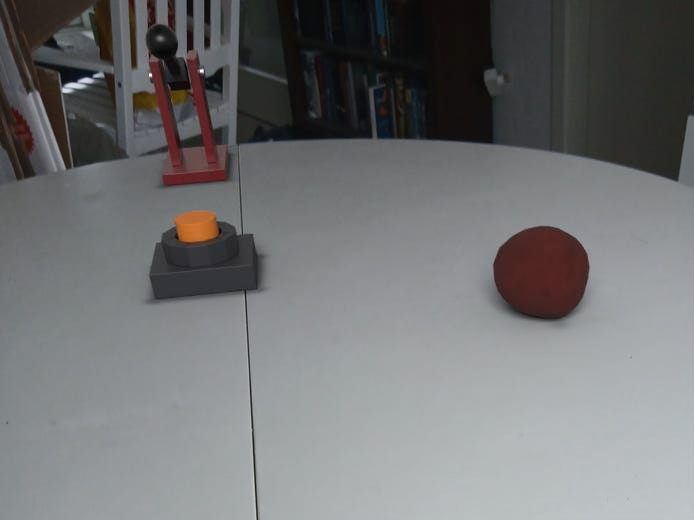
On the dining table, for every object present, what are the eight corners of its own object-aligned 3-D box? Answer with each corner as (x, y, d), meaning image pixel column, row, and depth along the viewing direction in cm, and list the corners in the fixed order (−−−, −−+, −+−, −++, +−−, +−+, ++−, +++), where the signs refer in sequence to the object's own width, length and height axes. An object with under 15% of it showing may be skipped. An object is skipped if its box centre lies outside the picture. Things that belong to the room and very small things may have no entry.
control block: (155, 299, 88) (143, 254, 85) (161, 266, 94) (151, 222, 91) (257, 288, 89) (248, 244, 86) (257, 256, 95) (249, 213, 92)
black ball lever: (177, 51, 100) (172, 16, 99) (145, 54, 99) (139, 19, 99) (196, 93, 111) (191, 62, 111) (167, 95, 111) (162, 64, 110)
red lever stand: (226, 180, 113) (203, 63, 105) (164, 185, 112) (136, 68, 104) (228, 154, 120) (207, 43, 112) (170, 160, 119) (144, 48, 112)
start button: (177, 246, 87) (172, 226, 86) (180, 232, 90) (175, 212, 89) (218, 242, 88) (214, 222, 86) (220, 228, 90) (215, 208, 89)
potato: (528, 284, 87) (528, 202, 82) (605, 309, 83) (609, 224, 78) (471, 312, 83) (467, 227, 79) (548, 339, 79) (549, 251, 74)
